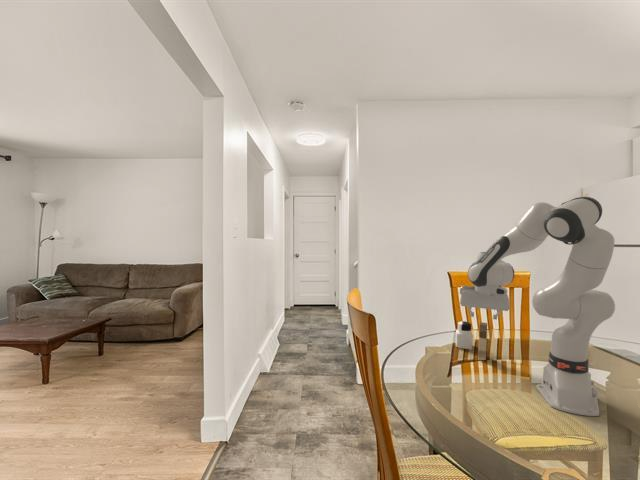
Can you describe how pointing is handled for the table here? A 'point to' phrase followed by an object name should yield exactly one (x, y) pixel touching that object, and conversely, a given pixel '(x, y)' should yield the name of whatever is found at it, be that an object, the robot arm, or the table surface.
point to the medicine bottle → (464, 335)
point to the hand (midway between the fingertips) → (483, 317)
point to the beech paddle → (482, 341)
